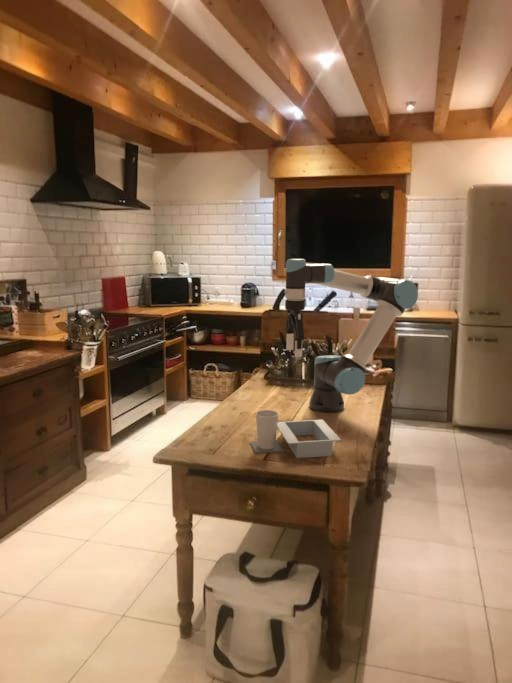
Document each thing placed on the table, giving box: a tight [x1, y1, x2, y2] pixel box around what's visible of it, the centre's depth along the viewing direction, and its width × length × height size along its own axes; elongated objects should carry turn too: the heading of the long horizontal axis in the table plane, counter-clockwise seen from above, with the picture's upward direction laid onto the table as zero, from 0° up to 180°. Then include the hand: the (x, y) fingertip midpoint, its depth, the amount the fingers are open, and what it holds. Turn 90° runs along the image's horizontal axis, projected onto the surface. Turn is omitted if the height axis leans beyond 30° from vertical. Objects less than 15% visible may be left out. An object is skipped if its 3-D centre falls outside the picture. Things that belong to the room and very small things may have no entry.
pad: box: [250, 439, 284, 455], centre depth 198 cm, size 10×10×1 cm
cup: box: [255, 409, 279, 449], centre depth 197 cm, size 8×8×12 cm
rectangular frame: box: [277, 419, 342, 459], centre depth 200 cm, size 19×22×6 cm
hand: (293, 353), depth 218 cm, fingers open, 13 cm apart
